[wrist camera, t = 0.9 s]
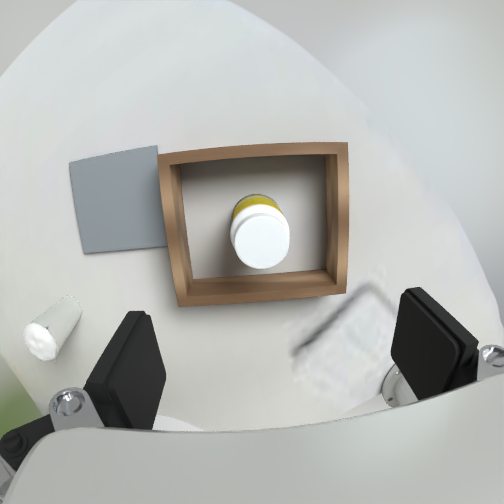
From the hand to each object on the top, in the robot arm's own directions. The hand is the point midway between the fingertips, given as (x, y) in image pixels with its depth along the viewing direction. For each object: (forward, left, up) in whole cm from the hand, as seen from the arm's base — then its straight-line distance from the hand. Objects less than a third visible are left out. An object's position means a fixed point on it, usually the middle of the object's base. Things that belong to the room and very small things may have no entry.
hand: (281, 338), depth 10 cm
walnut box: (0, 0, -20) cm, 20 cm away
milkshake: (-9, +23, -20) cm, 32 cm away
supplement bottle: (0, 0, -20) cm, 20 cm away
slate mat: (+3, +14, -20) cm, 25 cm away
